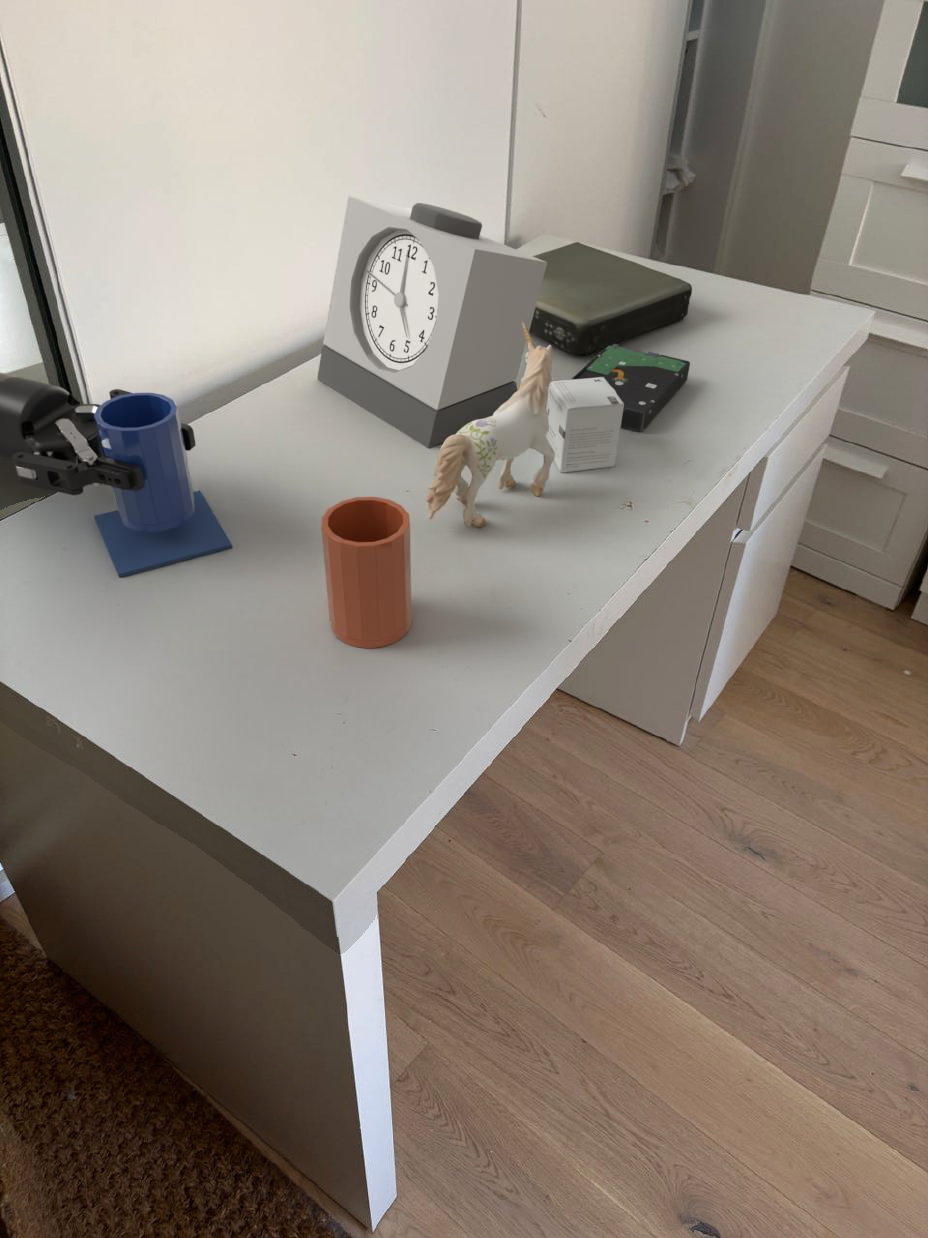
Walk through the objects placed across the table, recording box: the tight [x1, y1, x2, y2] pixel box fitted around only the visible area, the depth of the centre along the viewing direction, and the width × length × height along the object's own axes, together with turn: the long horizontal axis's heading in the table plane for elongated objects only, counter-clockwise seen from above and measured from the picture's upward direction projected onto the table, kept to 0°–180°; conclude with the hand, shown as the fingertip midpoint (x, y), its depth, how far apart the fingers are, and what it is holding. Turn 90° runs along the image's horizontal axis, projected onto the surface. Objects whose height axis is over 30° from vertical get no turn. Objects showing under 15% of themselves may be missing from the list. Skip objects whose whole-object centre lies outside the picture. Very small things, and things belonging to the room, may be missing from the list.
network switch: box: [529, 241, 693, 356], centre depth 127 cm, size 23×23×5 cm
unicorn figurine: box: [425, 322, 555, 528], centre depth 90 cm, size 7×20×13 cm, turn 151°
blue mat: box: [93, 490, 233, 578], centre depth 88 cm, size 10×10×1 cm
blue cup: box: [94, 392, 195, 532], centre depth 83 cm, size 7×7×10 cm
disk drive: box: [570, 343, 691, 432], centre depth 110 cm, size 10×3×15 cm
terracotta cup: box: [320, 496, 413, 649], centre depth 76 cm, size 7×7×10 cm
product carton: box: [546, 377, 624, 473], centre depth 98 cm, size 6×6×7 cm
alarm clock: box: [316, 195, 547, 449], centre depth 104 cm, size 20×16×20 cm
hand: (166, 458), depth 82 cm, fingers closed on blue cup, 6 cm apart
